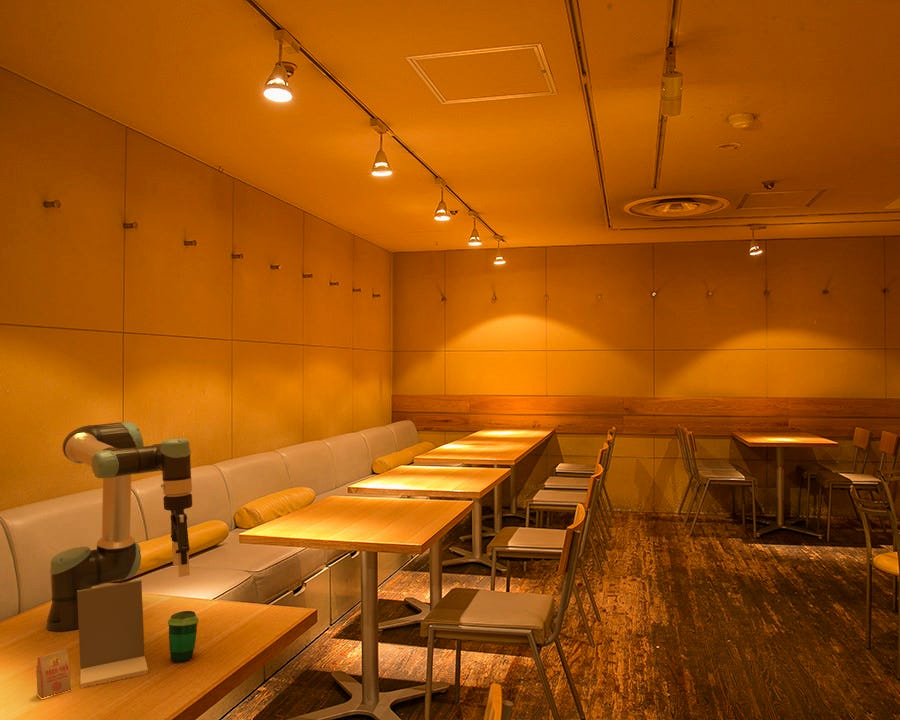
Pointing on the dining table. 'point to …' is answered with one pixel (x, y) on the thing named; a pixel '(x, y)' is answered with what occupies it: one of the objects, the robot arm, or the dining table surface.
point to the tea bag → (53, 674)
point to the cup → (182, 636)
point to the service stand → (111, 633)
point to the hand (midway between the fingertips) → (181, 570)
